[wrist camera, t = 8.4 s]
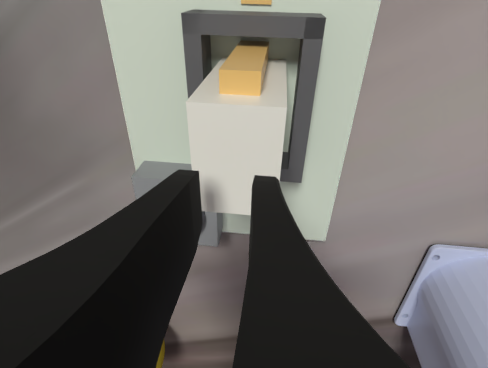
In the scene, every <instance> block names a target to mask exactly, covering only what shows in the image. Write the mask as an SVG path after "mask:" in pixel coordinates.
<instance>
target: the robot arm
mask: <svg viewBox="0 0 488 368" xmlns="http://www.w3.org/2000/svg"><path fill="white" fill-rule="evenodd" d="M202 225H203V221H202V207H201V193H200V179H199V171H194V170H181V169H179V170H177V171H176V172H174V173H173V174H171V175H170V176H168V177H167V178H166V179H164V180H163V181H162V182H160V183H159V184H158V185H156V186H155V187H153V188H152V189H151V190H149V191H148V192H147V193H145V194H144V195H142V196H141V197H140V198H138V199H137V200H135V201H134V202H133V203H131V204H130V205H128V206H127V207H125V208H124V209H122V210H121V211H119V212H117V213H116V214H114V215H113V216H111V217H110V218H108V219H107V220H105V221H104V222H102V223H100V224H99V225H97V226H96V227H94V228H92V229H91V230H89V231H87V232H85V233H84V234H82V235H80V236H78V237H77V238H75V239H73V240H71V241H69V242H67V243H65V244H64V245H62V246H60V247H58V248H56V249H54V250H52V251H50V252H48V253H46V254H44V255H42V256H40V257H38V258H35V259H33V260H31V261H29V262H27V263H25V264H22V265H20V266H18V267H16V268H14V269H12V270H10V271H7V272H5V273H3V274H1V275H0V368H156V365H157V362H158V358H159V354H160V351H161V347H162V344H163V340H164V336H165V333H166V330H167V327H168V325H169V322H170V319H171V316H172V314H173V311H174V308H175V306H176V303H177V301H178V298H179V295H180V293H181V290H182V288H183V285H184V282H185V280H186V277H187V275H188V272H189V269H190V267H191V264H192V261H193V259H194V256H195V253H196V250H197V246H198V242H199V238H200V233H201V229H202ZM435 255H436V256H435ZM394 321H395V323H396V324H397V325H399V326H407V328H408V331H409V334H410V337H411V339H412V342H413V345H414V348H415V351H416V353H417V356H418V359H419V362H420V365H421V368H488V249H487V248H475V247H464V246H453V245H442V244H435V245H433V246H431V247H430V248H429V250H428V252H427V254H426V256H425V258H424V260H423V262H422V264H421V266H420V268H419V270H418V272H417V274H416V276H415V278H414V280H413V282H412V284H411V286H410V288H409V290H408V292H407V294H406V296H405V298H404V300H403V302H402V304H401V306H400V308H399V310H398V312H397V314H396V316H395V318H394ZM233 368H410V367H409V366H408V365H407V364H406V363H405V362H404V361H403V360H402V359H401V358H400V357H399V356H398V355H397V354H396V353H395V352H394V350H393V349H392V348H391V347H390V346H389V345H388V344H387V343H386V342H385V341H384V340H383V339H382V338H381V337H380V336H379V334H378V333H377V332H376V331H375V330H374V329H373V328H372V326H371V325H370V324H369V323H368V322H367V321H366V320H365V319H364V317H363V316H362V315H361V314H360V313H359V312H358V311H357V310H356V308H355V307H354V306H353V305H352V304H351V303H350V302H349V300H348V299H347V298H346V297H345V295H344V294H343V293H342V292H341V290H340V289H339V288H338V286H337V285H336V284H335V283H334V281H333V280H332V279H331V277H330V276H329V275H328V273H327V272H326V270H325V269H324V268H323V266H322V265H321V263H320V262H319V260H318V259H317V257H316V256H315V254H314V253H313V251H312V250H311V248H310V247H309V245H308V243H307V242H306V240H305V238H304V237H303V235H302V233H301V231H300V230H299V228H298V226H297V224H296V222H295V220H294V218H293V216H292V214H291V212H290V210H289V208H288V206H287V203H286V201H285V198H284V196H283V193H282V190H281V187H280V183H279V180H278V179H277V178H276V177H273V176H260V175H255V176H254V180H253V184H252V196H251V219H250V243H249V268H248V275H247V281H246V288H245V294H244V301H243V307H242V314H241V320H240V326H239V332H238V338H237V344H236V350H235V356H234V362H233Z"/></svg>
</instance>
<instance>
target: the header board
mask: <svg viewBox="0 0 488 368" xmlns="http://www.w3.org/2000/svg"><path fill="white" fill-rule="evenodd" d="M380 2H381V0H101V4H102V8H103V13H104V18H105V23H106V28H107V33H108V38H109V42H110V47H111V52H112V57H113V62H114V67H115V72H116V76H117V81H118V86H119V91H120V96H121V101H122V106H123V110H124V115H125V120H126V125H127V130H128V135H129V139H130V144H131V149H132V154H133V159H134V164H135V169H136V172H135V173H134V174H133V175H132V177H131V179H132V183H133V188H134V192H135V197H136V200H137V199H138V198H140V197H141V196H142V195H144V194H145V193H147V192H148V191H149V190H151V189H152V188H153V187H155V186H156V185H158V184H159V183H160V182H162V181H163V180H164V179H166V178H167V177H168V176H170V175H171V174H173V173H174V172H176V171H177V170H179V169H181V170H192V167H191V155H190V144H189V133H188V121H187V110H186V101H187V100H188V99H189V97H190V96H191V95H192V94H193V93H194V91H195V90H196V89H197V88H198V86H199V85H200V84H201V83H202V82H203V80H204V79H205V78H206V77H207V76H208V74H209V73H210V72H211V71H212V70H213V68H214V67H215V66H216V65H217V63H218V62H219V61H220V60H221V59H222V57H229V55H230V54H231V53H232V51H233V50H234V49H235V47H236V46H237V45H238V43H239V42H240V41H241V40H242V41H267V42H269V53H268V59H280V60H286V75H287V114H286V124H285V134H284V144H283V154H282V164H281V173H280V187H281V190H282V193H283V196H284V198H285V201H286V203H287V206H288V208H289V210H290V212H291V214H292V216H293V218H294V220H295V222H296V224H297V226H298V228H299V230H300V231H301V233H302V235H303V237H304V238H305V239H307V240H318V241H325V240H326V236H327V231H328V227H329V223H330V218H331V214H332V210H333V205H334V201H335V197H336V192H337V188H338V184H339V179H340V175H341V171H342V166H343V162H344V158H345V153H346V149H347V145H348V140H349V136H350V132H351V127H352V123H353V119H354V114H355V110H356V106H357V101H358V97H359V93H360V88H361V84H362V80H363V76H364V71H365V67H366V63H367V58H368V54H369V50H370V45H371V41H372V37H373V32H374V28H375V24H376V19H377V15H378V11H379V6H380ZM250 219H251V215H241V214H230V213H218V212H206V211H202V221H203V225H202V229H201V233H200V238H199V242H198V245H206V246H216V247H218V244H219V240H220V236H221V232H231V233H242V234H250Z"/></svg>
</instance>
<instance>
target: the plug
mask: <svg viewBox="0 0 488 368" xmlns="http://www.w3.org/2000/svg"><path fill="white" fill-rule="evenodd" d="M268 53H269V42H267V41H242V40H241V41H240V42H239V43H238V45H237V46H236V47H235V49H234V50H233V51H232V53H231V54H230V55H229V57H222V59H221V60H220V61H219V62H218V63H217V65H216V66H215V67H214V68H213V70H212V71H211V72H210V73H209V74H208V76H207V77H206V78H205V79H204V80H203V82H202V83H201V84H200V85H199V86H198V88H197V89H196V90H195V91H194V93H193V94H192V95H191V96H190V97H189V99H188V100H187V101H186V110H187V121H188V133H189V144H190V155H191V167H192V170H194V171H199V179H200V193H201V207H202V211H206V212H218V213H230V214H241V215H251V196H252V184H253V180H254V176H255V175H260V176H273V177H276V178H277V179H278V180H279V183H280V173H281V164H282V154H283V144H284V134H285V124H286V114H287V75H286V60H280V59H268Z"/></svg>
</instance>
